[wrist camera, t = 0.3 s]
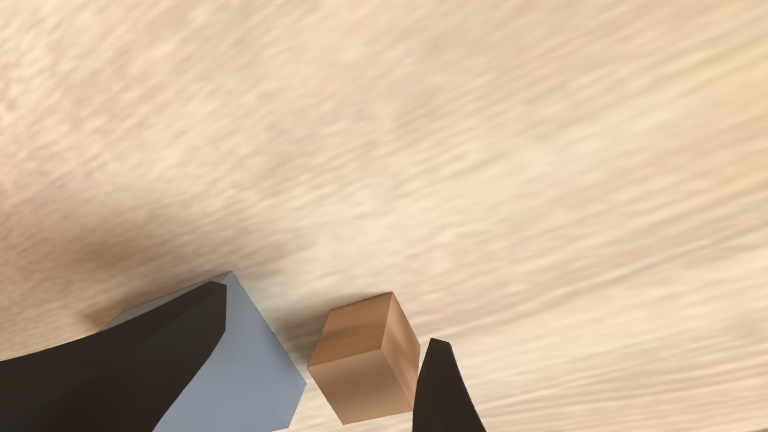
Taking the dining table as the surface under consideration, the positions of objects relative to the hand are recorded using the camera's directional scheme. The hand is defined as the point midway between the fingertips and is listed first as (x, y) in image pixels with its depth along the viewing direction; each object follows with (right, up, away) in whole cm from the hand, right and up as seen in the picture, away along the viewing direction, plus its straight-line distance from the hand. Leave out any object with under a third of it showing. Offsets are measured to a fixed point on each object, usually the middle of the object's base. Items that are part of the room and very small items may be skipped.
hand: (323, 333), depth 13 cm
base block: (-10, -5, +15) cm, 19 cm away
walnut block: (+2, -3, +12) cm, 12 cm away
